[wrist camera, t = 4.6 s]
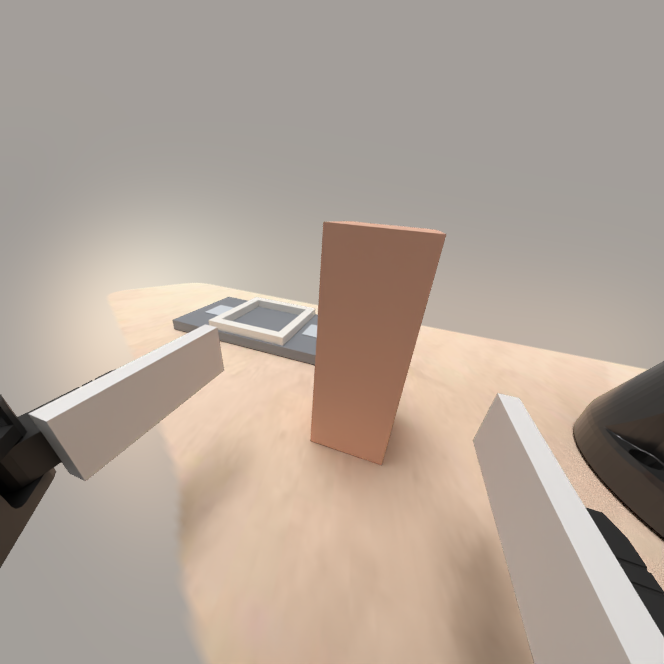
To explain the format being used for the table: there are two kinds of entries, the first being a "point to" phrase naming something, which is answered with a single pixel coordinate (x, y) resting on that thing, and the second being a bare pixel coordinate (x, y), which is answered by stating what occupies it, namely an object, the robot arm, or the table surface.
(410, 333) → the terracotta pillar
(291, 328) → the base board
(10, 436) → the robot arm
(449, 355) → the table surface
